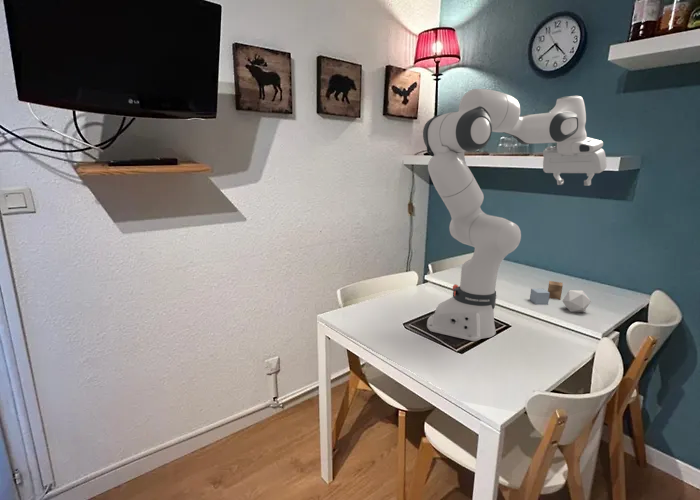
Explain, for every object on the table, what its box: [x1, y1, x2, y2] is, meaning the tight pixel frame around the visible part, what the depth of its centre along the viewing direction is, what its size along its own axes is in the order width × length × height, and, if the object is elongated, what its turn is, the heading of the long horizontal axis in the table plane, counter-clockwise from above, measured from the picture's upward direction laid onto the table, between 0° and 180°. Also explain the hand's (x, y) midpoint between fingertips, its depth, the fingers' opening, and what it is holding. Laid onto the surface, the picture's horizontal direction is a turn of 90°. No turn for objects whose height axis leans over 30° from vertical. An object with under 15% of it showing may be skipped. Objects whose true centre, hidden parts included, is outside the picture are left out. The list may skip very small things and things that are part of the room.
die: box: [561, 289, 592, 313], centre depth 149 cm, size 8×9×10 cm
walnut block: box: [547, 280, 564, 301], centre depth 164 cm, size 5×5×6 cm
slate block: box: [529, 288, 550, 305], centre depth 158 cm, size 5×5×5 cm
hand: (573, 184), depth 137 cm, fingers open, 8 cm apart
